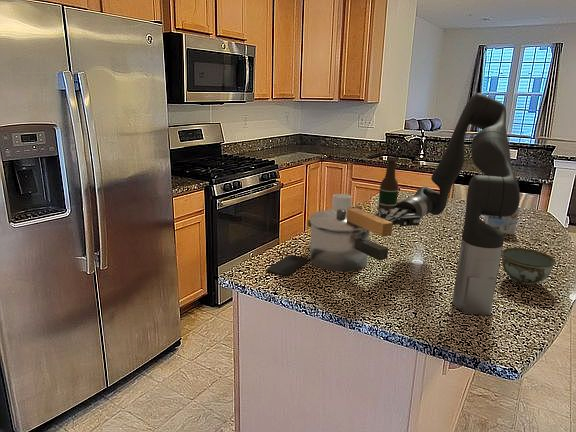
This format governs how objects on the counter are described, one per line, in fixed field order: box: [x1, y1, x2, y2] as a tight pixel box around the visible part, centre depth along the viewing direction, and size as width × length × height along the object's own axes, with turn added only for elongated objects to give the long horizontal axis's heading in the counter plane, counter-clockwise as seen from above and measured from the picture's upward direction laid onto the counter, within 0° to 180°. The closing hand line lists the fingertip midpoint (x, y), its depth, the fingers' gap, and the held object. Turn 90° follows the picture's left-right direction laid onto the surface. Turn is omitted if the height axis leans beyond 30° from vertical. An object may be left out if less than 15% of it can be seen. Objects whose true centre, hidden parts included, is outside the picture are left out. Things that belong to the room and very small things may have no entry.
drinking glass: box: [331, 193, 352, 210], centre depth 156 cm, size 7×7×15 cm
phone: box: [266, 254, 310, 277], centre depth 130 cm, size 7×1×15 cm
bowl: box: [501, 247, 556, 287], centre depth 122 cm, size 14×13×8 cm
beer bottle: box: [377, 158, 399, 214], centre depth 185 cm, size 8×8×24 cm
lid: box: [309, 207, 394, 238], centre depth 126 cm, size 30×19×6 cm, turn 28°
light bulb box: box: [483, 206, 520, 235], centre depth 167 cm, size 11×7×11 cm, turn 76°
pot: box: [307, 219, 389, 273], centre depth 131 cm, size 32×18×12 cm, turn 33°
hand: (385, 223), depth 116 cm, fingers closed
